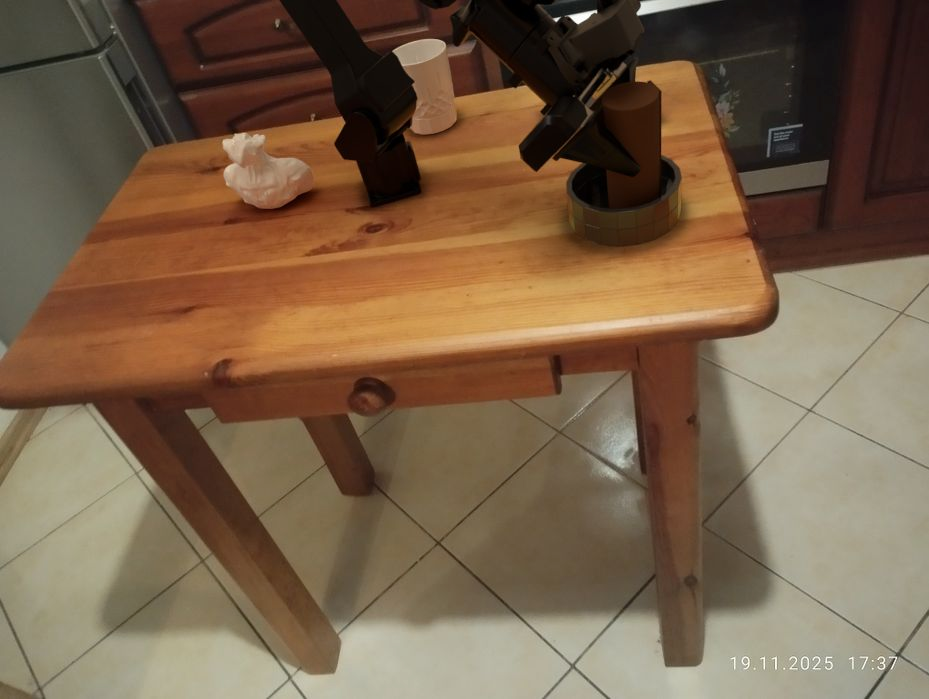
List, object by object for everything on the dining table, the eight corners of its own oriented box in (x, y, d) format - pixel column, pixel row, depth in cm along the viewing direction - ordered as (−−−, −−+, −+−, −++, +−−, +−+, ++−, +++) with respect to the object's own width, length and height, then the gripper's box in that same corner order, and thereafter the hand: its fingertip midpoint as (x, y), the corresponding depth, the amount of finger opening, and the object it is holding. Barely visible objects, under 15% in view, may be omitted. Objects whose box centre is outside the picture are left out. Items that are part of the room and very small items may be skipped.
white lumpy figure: (242, 219, 91) (187, 191, 80) (246, 164, 92) (191, 129, 81) (324, 213, 88) (278, 183, 77) (326, 157, 88) (281, 119, 78)
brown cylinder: (620, 233, 68) (613, 115, 59) (602, 207, 71) (593, 91, 62) (669, 218, 68) (670, 97, 59) (649, 192, 71) (647, 74, 62)
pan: (591, 262, 66) (588, 224, 63) (556, 205, 75) (551, 169, 71) (699, 229, 67) (701, 190, 64) (652, 176, 75) (652, 139, 72)
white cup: (398, 123, 97) (378, 53, 90) (448, 103, 98) (432, 33, 91) (418, 143, 91) (399, 71, 84) (470, 122, 92) (455, 49, 86)
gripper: (533, 17, 50) (680, 161, 53) (618, -69, 61) (738, 54, 63) (463, 111, 59) (592, 230, 62) (548, 23, 70) (655, 127, 72)
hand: (647, 157), depth 64 cm, fingers closed on brown cylinder, 5 cm apart
